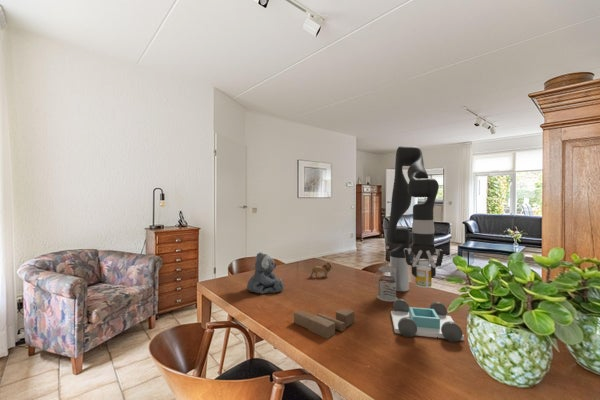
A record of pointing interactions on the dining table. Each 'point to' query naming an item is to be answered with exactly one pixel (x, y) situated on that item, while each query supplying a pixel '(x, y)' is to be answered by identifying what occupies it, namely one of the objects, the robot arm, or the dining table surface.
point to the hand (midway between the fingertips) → (423, 276)
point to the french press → (391, 281)
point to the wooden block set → (324, 322)
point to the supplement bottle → (423, 274)
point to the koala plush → (264, 276)
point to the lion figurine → (322, 269)
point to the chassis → (424, 321)
